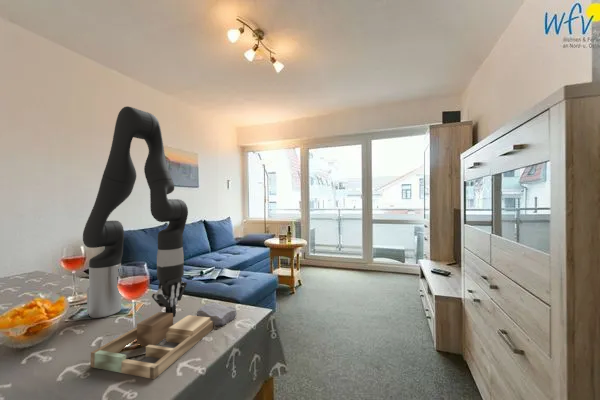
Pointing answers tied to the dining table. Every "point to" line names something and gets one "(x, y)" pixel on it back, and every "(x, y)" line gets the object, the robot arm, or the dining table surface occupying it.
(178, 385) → the dining table surface
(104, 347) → the box
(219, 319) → the stone block
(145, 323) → the walnut block
